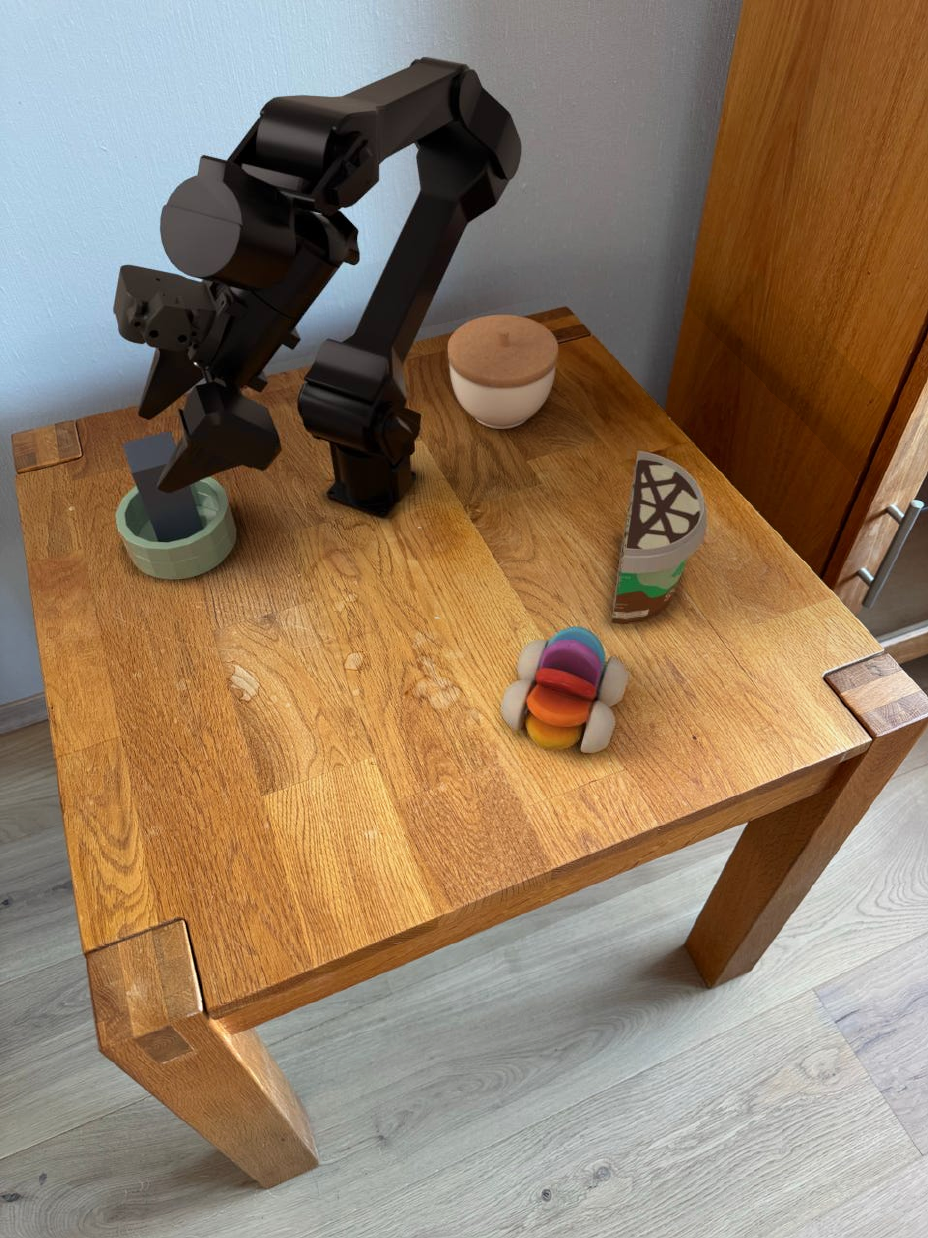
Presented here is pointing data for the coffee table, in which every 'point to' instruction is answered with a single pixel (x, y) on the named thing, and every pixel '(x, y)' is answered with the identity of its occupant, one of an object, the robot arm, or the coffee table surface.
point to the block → (166, 511)
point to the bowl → (185, 553)
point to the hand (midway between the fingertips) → (152, 452)
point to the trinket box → (502, 368)
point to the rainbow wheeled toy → (565, 691)
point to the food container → (657, 537)
